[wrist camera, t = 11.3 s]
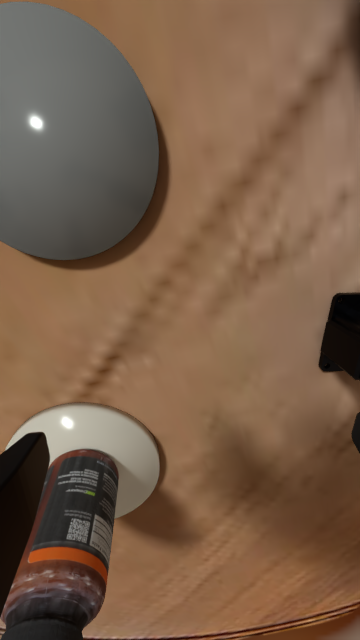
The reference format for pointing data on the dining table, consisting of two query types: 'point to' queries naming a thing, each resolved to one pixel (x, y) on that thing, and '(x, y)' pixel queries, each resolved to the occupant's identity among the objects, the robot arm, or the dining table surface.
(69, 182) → the slate dish
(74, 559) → the supplement bottle
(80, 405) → the cream dish
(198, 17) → the dining table surface
